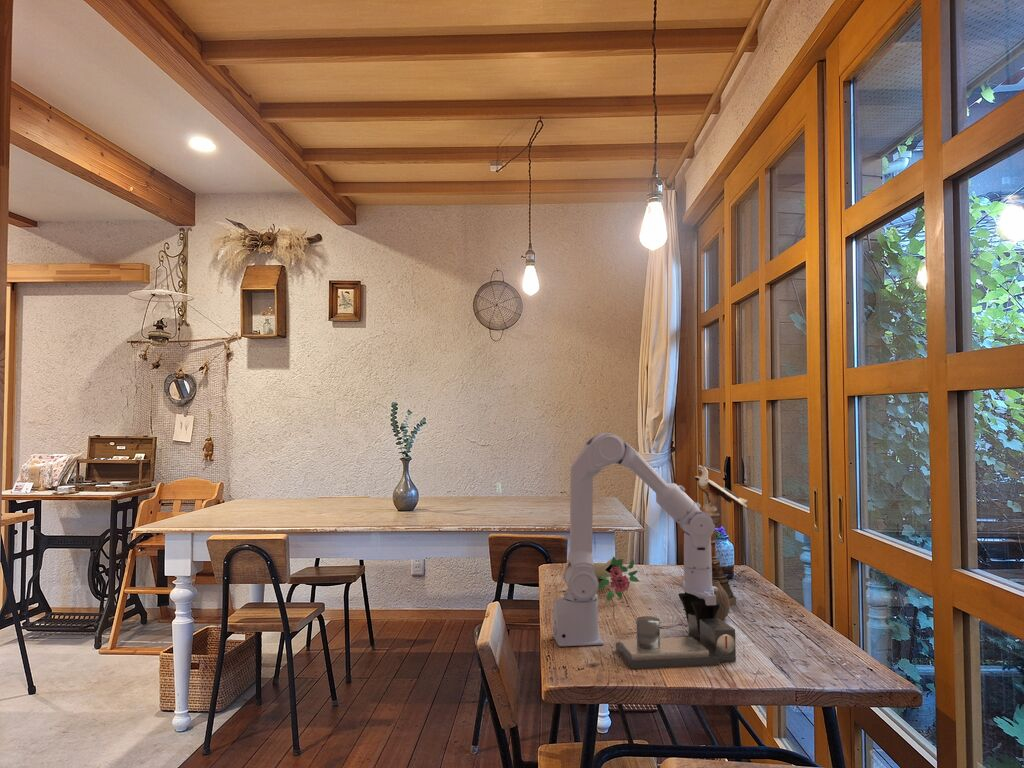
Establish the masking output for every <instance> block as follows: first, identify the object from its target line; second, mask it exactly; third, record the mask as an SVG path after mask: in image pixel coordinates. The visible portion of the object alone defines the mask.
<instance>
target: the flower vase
mask: <svg viewBox="0 0 1024 768" xmlns="http://www.w3.org/2000/svg"><path fill="white" fill-rule="evenodd" d="M623 561H624V559H623V558H619V559H616V557H615V556H614V555H613V556H612V558H611V559H609V560H608V561H607V562H605V563H604V562H596V563H594V573H595V575H596V577H597V580H600V582H598V590H602V589H603V588H605V586H609V585H610V586H609V587H610V589H611V588H612V591H608V593H607V594H606V601H611V599H613V597H614V596H615V594H616V595H617V597H618V598H620V599H622V596H623V593H624V592H625V591H626V592H628V591H629V588H630V585H631V584H630V583H631V582H633V583H634V582H635V583H638V582H640V580H639V579H638V577H636V576H635V575H636V574H637V573H638V572H639V570H633V571H630V572H629V573H627V574H624V573H626V572H628V570H629V569H633V568H634V565H635V561H634V558H632V559H631V560H630V563H629V564H628V568H627V567H626V566H624V565H623ZM627 575H628V576H629V577H628V576H627ZM609 578H610V581H609ZM613 591H614V592H613ZM614 593H615V594H614Z"/></svg>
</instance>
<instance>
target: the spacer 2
mask: <svg viewBox="0 0 1024 768" xmlns="http://www.w3.org/2000/svg"><path fill="white" fill-rule="evenodd" d="M687 625H688V627H687V628H688V637H693V638H694V639H698V640H699V641H700V636H699V633H698V627H697V620H696V615H695V612H691V613H689V614H688V622H687Z"/></svg>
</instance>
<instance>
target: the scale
mask: <svg viewBox="0 0 1024 768" xmlns="http://www.w3.org/2000/svg"><path fill="white" fill-rule="evenodd" d="M615 651H616V652H617V653H618V655H619V656H620V658H621V659H622V660H623V661H624V662H625V664H626V665H627V666H628V668H630V670H640V669H641V670H642V669H643V670H645V669H663V668H665V669H666V668H683V667H685V668H687V667H701V666H703V667H704V666H707V667H708V666H719V665H720V663H730V662H731V663H732V662H734V663H735V662H736V661H737V647H736V629H735V628H733V626H731V625H729V624H728V623H726V622H725V621H724V620H720V619H719V618H713V619H700V641H699V640H698V639H694V638H693V637H689V636H681V637H680V636H677V637H660V647H659V648H657V649H643V648H640V647H638V646H637V638H630V639H619V642H615Z"/></svg>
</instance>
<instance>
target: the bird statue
mask: <svg viewBox="0 0 1024 768" xmlns="http://www.w3.org/2000/svg"><path fill="white" fill-rule="evenodd" d="M697 469H698V470H699V471H700V472H701V475H700V476H699V475H696V476H694V477H693V478H694V480H696V481H697V486H698V487H699V489H700V490H701V492H703V493H704V494H705V495H706V500H707V501H708V502H707V503H704V504H703V506H702V507H701V511H703V512H705V513H707V514H708V515H710V517H711V518H712V520H713V521H712V522H713V524H714V525H715V528H716V527H717V525H718V524H719V523H720V521H719V520H720V519H719V518H720V516H721V513H719V512H718V507H717V503H718V499H719V498H718V497H719V496H720V497H721V498H723V499H724V500H725V501H726V502H727V503H730V504H731V503H732V502H733V503H736V504H739V505H741V506H743V508H744V509H748V505H747V503H748V502H749V501H748V500H747V499H746V498H742V497H739V496H738V495H736V494H735V493H734V492H732V491H731V490H729V489H728V488H727V487H722V486H720V485H718V484H717V483H716V482H715V481H713V480H711V479H709V477H710V475H709V471H708V469H707V467H705V466H703V465H700V464H699V465H697ZM717 543H718V542H717V540H716V529H715V530H714V532H713V534H712V535H711V556H712V580H718V581H719V582H720V585H721V586H722V587H723V589H724V590H725V591H726V593H727V595H728V598H729V602H730V607H731V606H735V605H737V596H735V595H734V593H733V591H732V589H731V585H730V583H729V582H730V580H729V579H728V578H727V577H728V576H727V575H726V574H725V573H724V571H723V569H722V567H721V561H720V559H718V558H717V556H716V544H717Z"/></svg>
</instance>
